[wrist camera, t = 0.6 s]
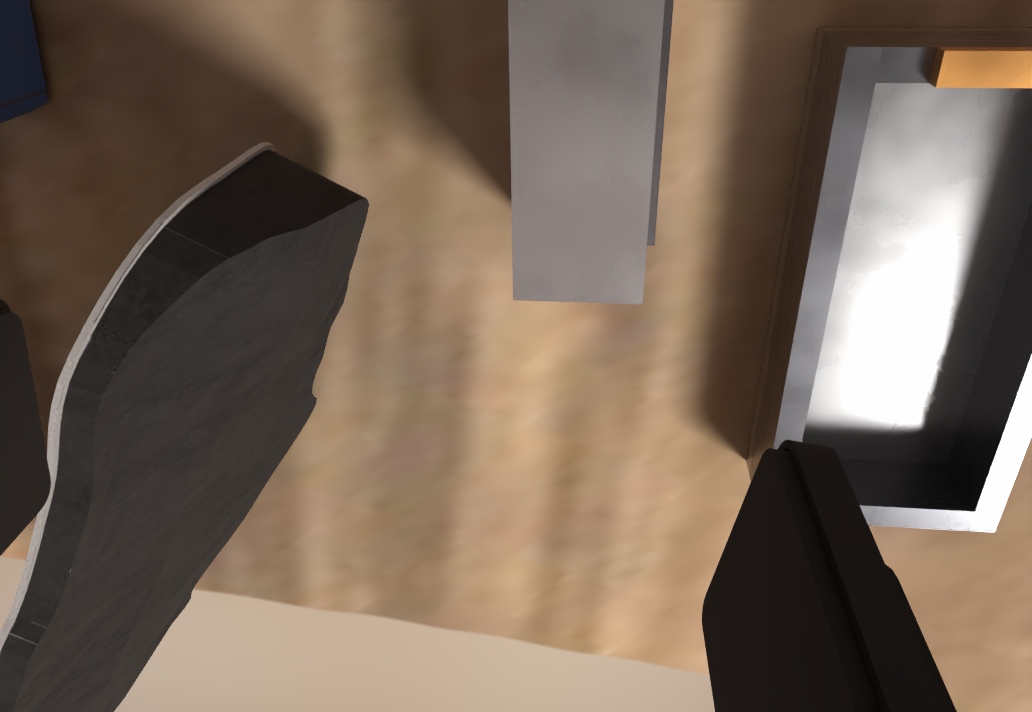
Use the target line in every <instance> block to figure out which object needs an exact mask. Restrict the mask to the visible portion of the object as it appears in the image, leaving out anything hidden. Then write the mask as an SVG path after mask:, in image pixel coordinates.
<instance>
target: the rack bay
mask: <svg viewBox="0 0 1032 712" xmlns="http://www.w3.org/2000/svg"><path fill="white" fill-rule="evenodd" d="M1031 437H1032V27H818V29H817V35H816V42H815V48H814V54H813V60H812V66H811V72H810V78H809V84H808V90H807V96H806V102H805V108H804V114H803V120H802V127H801V133H800V139H799V145H798V151H797V157H796V163H795V169H794V175H793V181H792V187H791V193H790V199H789V206H788V212H787V218H786V224H785V230H784V236H783V242H782V248H781V254H780V260H779V266H778V272H777V278H776V284H775V291H774V297H773V303H772V309H771V315H770V321H769V327H768V333H767V339H766V345H765V351H764V357H763V363H762V369H761V376H760V382H759V388H758V394H757V400H756V406H755V412H754V418H753V424H752V430H751V436H750V442H749V448H748V455H747V461H746V462H747V466H748V470H749V474H750V479H751V481H752V479H753V476H754V474H755V471H756V469H757V466H758V464H759V461H760V459H761V457H762V455H763V453H764V451H765V450H766V449H768V448H772V449H778V448H779V446H780V445H781V443H782V442H783V441H785V440H793V441H799V442H804V443H810V444H815V445H821V446H827V447H831V448H833V449H834V450H835V451H836V453H837V454H838V457H839V459H840V461H841V464H842V466H843V468H844V471H845V473H846V475H847V478H848V480H849V482H850V484H851V487H852V489H853V491H854V494H855V496H856V498H857V501H858V503H859V505H860V508H861V510H862V512H863V515H864V517H865V519H866V522H867V524H868V525H869V526H887V527H905V528H922V529H940V530H958V531H976V532H993V533H995V531H996V528H997V525H998V523H999V520H1000V518H1001V515H1002V512H1003V510H1004V507H1005V505H1006V502H1007V499H1008V497H1009V494H1010V492H1011V489H1012V486H1013V484H1014V481H1015V478H1016V476H1017V473H1018V471H1019V468H1020V465H1021V463H1022V460H1023V458H1024V455H1025V452H1026V450H1027V447H1028V444H1029V442H1030V439H1031Z"/></svg>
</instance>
